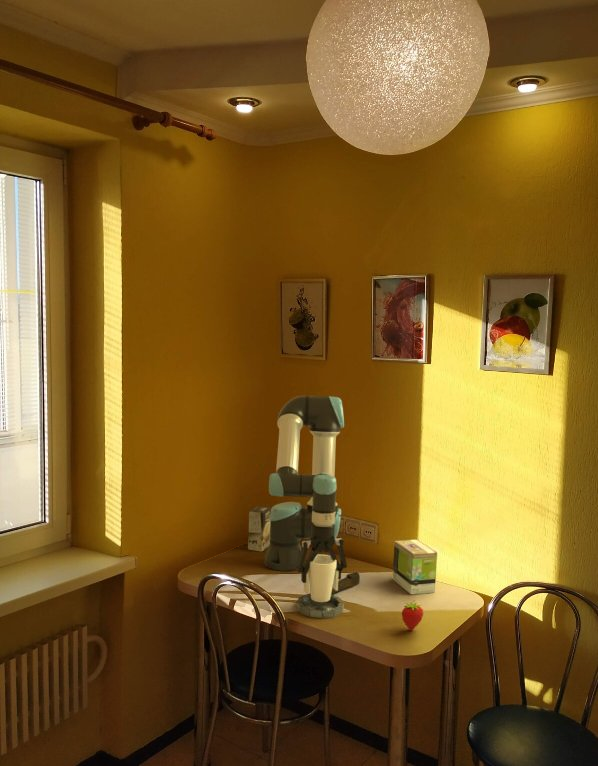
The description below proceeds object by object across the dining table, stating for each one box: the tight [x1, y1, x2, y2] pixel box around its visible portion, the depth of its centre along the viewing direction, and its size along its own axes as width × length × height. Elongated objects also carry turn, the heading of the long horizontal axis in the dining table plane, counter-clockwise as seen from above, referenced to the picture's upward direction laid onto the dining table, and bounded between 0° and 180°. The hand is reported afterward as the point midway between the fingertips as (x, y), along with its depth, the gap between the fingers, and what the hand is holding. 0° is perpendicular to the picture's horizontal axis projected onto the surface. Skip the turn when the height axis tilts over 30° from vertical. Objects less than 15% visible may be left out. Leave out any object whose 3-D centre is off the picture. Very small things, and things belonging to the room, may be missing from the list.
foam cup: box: [307, 554, 338, 602], centre depth 228 cm, size 10×9×13 cm
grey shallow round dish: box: [296, 593, 345, 620], centre depth 229 cm, size 15×15×2 cm
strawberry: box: [401, 600, 424, 632], centre depth 214 cm, size 6×8×10 cm
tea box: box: [392, 539, 438, 595], centre depth 250 cm, size 15×10×15 cm, turn 18°
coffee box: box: [247, 505, 272, 552], centre depth 285 cm, size 9×6×16 cm
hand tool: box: [331, 571, 361, 595], centre depth 244 cm, size 19×4×5 cm, turn 133°
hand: (320, 590), depth 228 cm, fingers closed on foam cup, 9 cm apart
